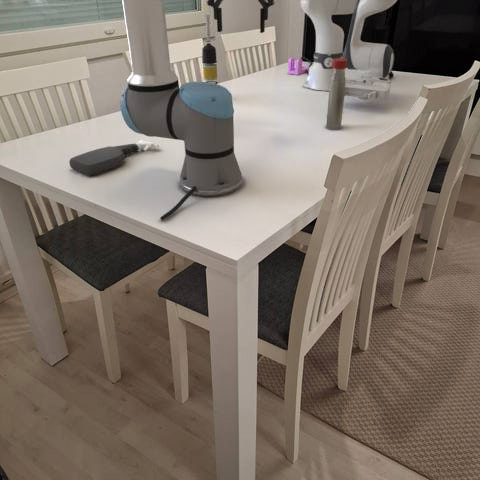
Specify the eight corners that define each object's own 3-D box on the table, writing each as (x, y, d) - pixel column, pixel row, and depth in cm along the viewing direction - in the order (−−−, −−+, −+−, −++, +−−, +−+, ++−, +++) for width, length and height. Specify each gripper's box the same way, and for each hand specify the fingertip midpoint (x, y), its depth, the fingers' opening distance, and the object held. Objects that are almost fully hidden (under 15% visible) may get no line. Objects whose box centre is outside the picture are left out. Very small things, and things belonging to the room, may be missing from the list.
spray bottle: (67, 168, 120) (139, 144, 136) (91, 178, 114) (163, 151, 130) (65, 157, 118) (137, 134, 134) (89, 167, 112) (162, 142, 128)
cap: (332, 69, 134) (333, 61, 133) (331, 66, 138) (331, 58, 137) (347, 69, 134) (348, 60, 133) (345, 66, 138) (346, 58, 136)
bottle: (326, 129, 144) (332, 62, 133) (325, 125, 148) (331, 59, 137) (341, 129, 144) (348, 62, 133) (340, 125, 148) (346, 59, 137)
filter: (220, 99, 177) (217, 15, 161) (206, 100, 176) (202, 16, 160) (215, 96, 182) (212, 14, 166) (202, 97, 180) (197, 14, 164)
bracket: (297, 74, 213) (298, 59, 209) (287, 73, 216) (288, 58, 212) (311, 70, 222) (312, 55, 218) (301, 68, 225) (302, 54, 221)
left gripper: (285, -51, 127) (282, 30, 138) (202, -49, 132) (206, 29, 144) (280, -52, 120) (278, 34, 132) (193, -50, 126) (198, 32, 137)
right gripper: (340, 75, 167) (326, 82, 157) (395, 80, 158) (384, 89, 148) (338, 92, 170) (324, 100, 160) (392, 98, 161) (381, 108, 151)
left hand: (240, 32), depth 138 cm, fingers open, 13 cm apart
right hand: (353, 95), depth 154 cm, fingers open, 8 cm apart
